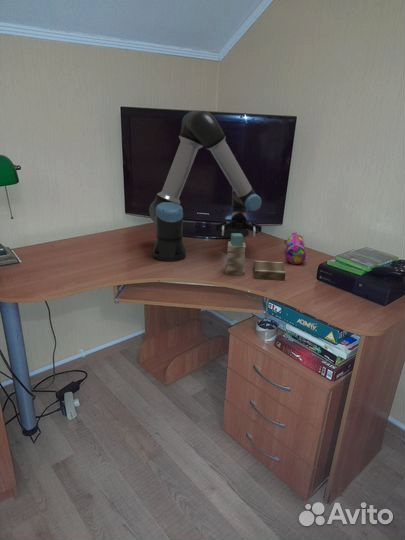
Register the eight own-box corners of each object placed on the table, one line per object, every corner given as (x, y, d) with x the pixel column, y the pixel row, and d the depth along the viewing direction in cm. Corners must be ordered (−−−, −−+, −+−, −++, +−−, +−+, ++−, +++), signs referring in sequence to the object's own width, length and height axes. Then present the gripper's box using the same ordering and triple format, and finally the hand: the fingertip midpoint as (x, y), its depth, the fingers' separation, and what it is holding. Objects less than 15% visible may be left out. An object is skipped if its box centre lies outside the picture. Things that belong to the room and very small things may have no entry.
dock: (254, 278, 155) (255, 270, 154) (253, 267, 166) (254, 260, 165) (284, 280, 154) (285, 272, 153) (281, 269, 165) (282, 262, 164)
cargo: (232, 245, 154) (233, 236, 153) (230, 242, 158) (231, 233, 157) (242, 245, 155) (243, 236, 154) (240, 242, 159) (240, 233, 157)
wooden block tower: (224, 274, 158) (226, 246, 154) (225, 267, 165) (227, 241, 160) (244, 275, 158) (246, 247, 153) (244, 269, 164) (246, 242, 160)
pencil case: (283, 249, 191) (285, 231, 188) (302, 250, 190) (305, 233, 186) (284, 264, 171) (286, 245, 168) (306, 266, 170) (309, 247, 166)
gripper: (264, 229, 185) (267, 242, 166) (212, 227, 187) (209, 240, 168) (265, 213, 182) (268, 225, 163) (213, 212, 184) (209, 223, 165)
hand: (238, 233), depth 165 cm, fingers open, 13 cm apart
